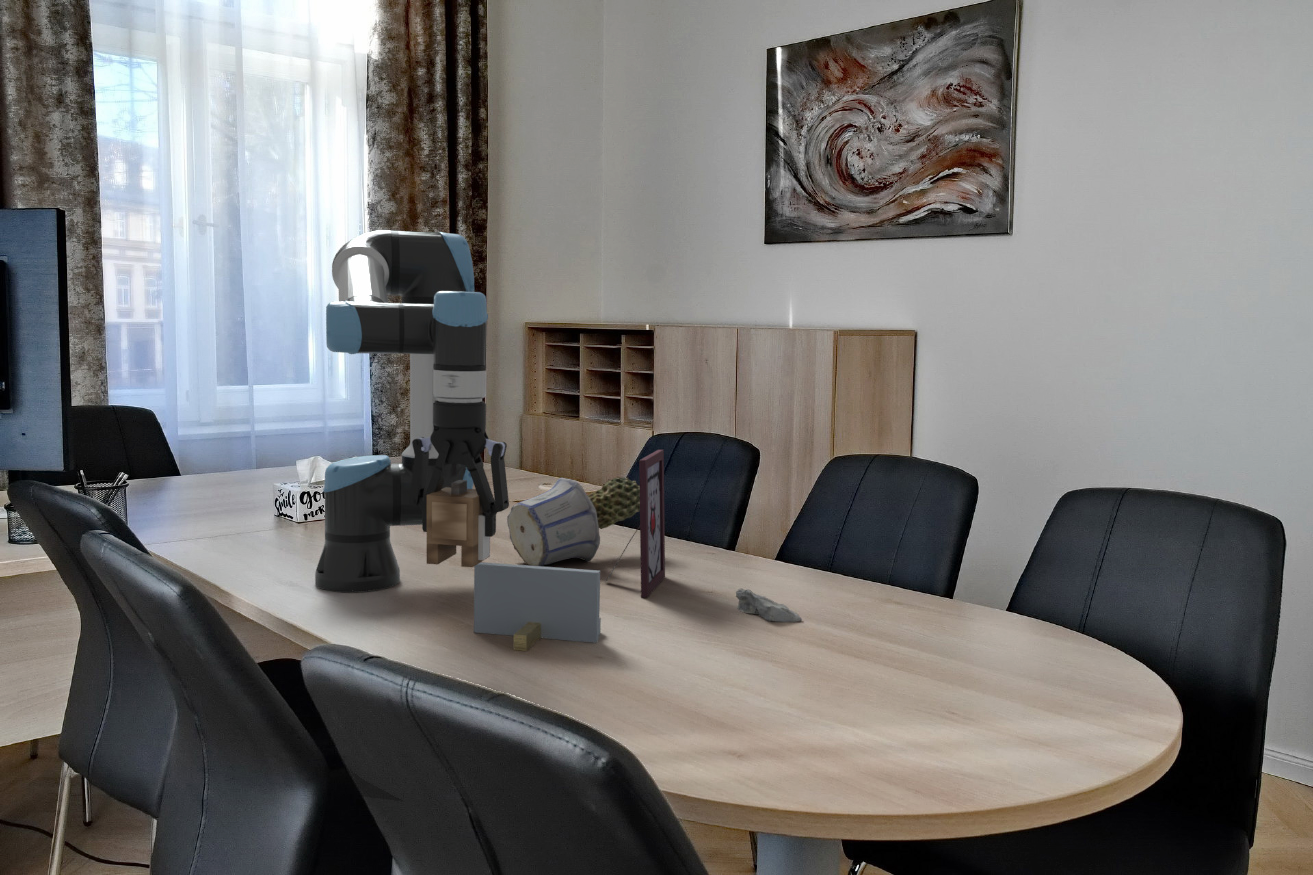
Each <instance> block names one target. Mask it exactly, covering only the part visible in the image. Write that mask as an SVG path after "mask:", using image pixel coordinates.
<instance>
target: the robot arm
mask: <svg viewBox="0 0 1313 875" xmlns="http://www.w3.org/2000/svg"><path fill="white" fill-rule="evenodd" d="M474 274H475V273H474V266H473V259H472V254H471V250H470V245H469V243H468V241H467V239H466V238H465V237H464V236H463V235H461V234H457V233H448V232H443V231H439V232H436V231H411V230H407V231H405V230H391V229H380V230H373V231H369V232H365V233H363V234H360V235H358V236H356V237H353V238H352V239H350V240H349V241H347V242H346V243H345V244H343V245H342V246H341V247H340V248H339V249H338V251H337V252H336V254H335V256H334V258H333V259H332V264H331V278H332V281H333V282H334V285H335V287H336V288H337V289H338V301H332V302H329V303H328V304H327V305H326V311H325V312H326V313H325V315H326V316H325V321H326V322H325V326H326V328H325V332H326V338H325V340H326V347H327V349H328V350H329V351H331V352H333V353H345V354H349V355H356V354H369V355H370V354H385V355H386V354H395V355H396V354H402V355H403V354H407V355H409V372H410V373H409V390H410V391H409V399H410V401H409V407H410V408H409V410H410V411H409V413H410V414H409V415H410V416H409V426H410V427H409V428H410V430H409V434H410V435H409V440H410V441H409V442H410V443H409V445H408V446H407V447H406V448H405V449H404V451H403V452H401V463H399V462H397V463H396V462H395V463H391V461H392V460H391V458H390V457H389V455H384V454H379V455H377V454H376V455H363V456H356V457H354V456H353V457H349V458H345V459H341V460H338V461H335V462H332V463H331V464H329V465H328V466H327V467H326V468H325V471H324V485H323V488H322V491H323V493H324V544H323V548H322V551H321V554H320V556H319V560H318V562H317V563H318V564H317V566H316V569H315V571H314V572H315V574H314V577H315V578H314V581H315V582H314V585H315V586H316V587H317V588H319V589H322V590H326V591H330V592H338V593H339V592H340V593H356V592H357V593H358V592H359V593H362V592H371V591H372V592H373V591H379V590H383V589H384V590H385V589H387V588H391V587H393V586H396V585H397V584H399V583H400V581H401V570H400V567H399V563H398V560H397V557H396V554H395V551H394V549H393V547H392V546H393V545H392V543H391V527H397V526H399V527H400V526H421V527H422V528H421V529H422V531H423V533H427V495H428V494H431V493H433V492H434V493H435V492H437V491H439V490H441V489H443V488H445V487H450V488H451V483H453V482H455V481H458V480H467V489H476V492H477V494H478V495H479V500H480V503H481V506H482V509H483V512H484V513H482V514H481V515H479V518H478V560H484V559H485V560H486V558H487V557H488V558H490V557H491V537H493V536H495V535H496V532H497V514H498V513H502V512H503V511H505V510H506V509H508V508H509V506H510V501H509V491H508V490H509V489H508V482H507V481H508V480H507V475H506V474H507V473H506V463H505V462H506V461H505V456H506V451H507V449H508V448H507V447H508V445H507V442H505V441H500V442H499V441H495V440H492V439H490V438H489V435H488V433H487V431H486V430H487V426H486V425H487V404H486V402H485V401H484V400H483V399H484V398H486V397H487V328H488V327H487V326H488V319H489V313H488V307H487V304H488V303H487V297H486V295H485V294H484V293H482V292H480V291H475V275H474ZM388 295H389V296H400V297H401V298H400V299H401V303H400V302H389V300H388ZM485 449H487V454H488V455H489V456H490V470H491V477H492V479H491V480H492V487H493V491H492V488H491V486H490V483H489V480H488V477H487V473H486V472H485V468H484V461H483V459H482V455H481V454H482V453H483V452H484V450H485ZM473 483H474V484H473ZM489 556H490V557H489ZM488 558H487V559H488ZM485 560H484V561H485Z"/></svg>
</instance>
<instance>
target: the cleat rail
mask: <svg viewBox="0 0 1313 875" xmlns="http://www.w3.org/2000/svg"><path fill="white" fill-rule="evenodd" d="M540 639H542V638H541V623H535V622H528V623H527V624H526V625H524V626H523V627H522V628H521V629H520V630H518V631H517V632H516V633H515V634H514V636H513V651H519V652H527V651H528V650H530V648H532V646H534V645H535V644H536V643H537V642H538V641H539V640H540Z"/></svg>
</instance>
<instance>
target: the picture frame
mask: <svg viewBox="0 0 1313 875" xmlns="http://www.w3.org/2000/svg"><path fill="white" fill-rule="evenodd" d="M664 454H665V452H664V449H657V450H655V451H654V452H652V453H650V454H648V455H646V456H645V457H642V458H641V459H639V460H638V465H639V466H638V468H639V469H638V470H639V474H638V475H639V486H640V510H639V526H638V528H637V529H636V531H635V532H634V533H633V535H632V536H631V537H630V539H629V541H628V543H627V544H626V546H625V548H624V550H623V551H622V552H621V554H620V556H619V558H618V560H616V561H617V562H616V563H615V565H614V567H613V568H612V570H611V572H609V573H610V574H609V575H608V577H607V578H606V580H605V582H607V581H608V580H609V578H610V577H611V575H612V573H613V571H614V569H616V566H617V565H618V563H619V561H620V560H621V558H622V556H623V555H624V553H625V551H626V550H627V548H628V546H629V544H630V543H631V541H632V540H633V538H634V536H635V535H636V533H637V531H638V530H639V531H640V534H639V535H640V536H639V537H640V538H639V540H640V542H639V543H640V546H639V547H640V598H641V599H648V597H650V595H651V594H652V593H653V592H654V591H655V589H656V588H657V587H658V586H659V584H660V583H661V582H662V581H663V580H664V579H665V578H666V549H665V546H666V544H665V543H666V540H665V539H666V537H665V533H666V530H665V457H664V456H665V455H664Z"/></svg>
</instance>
